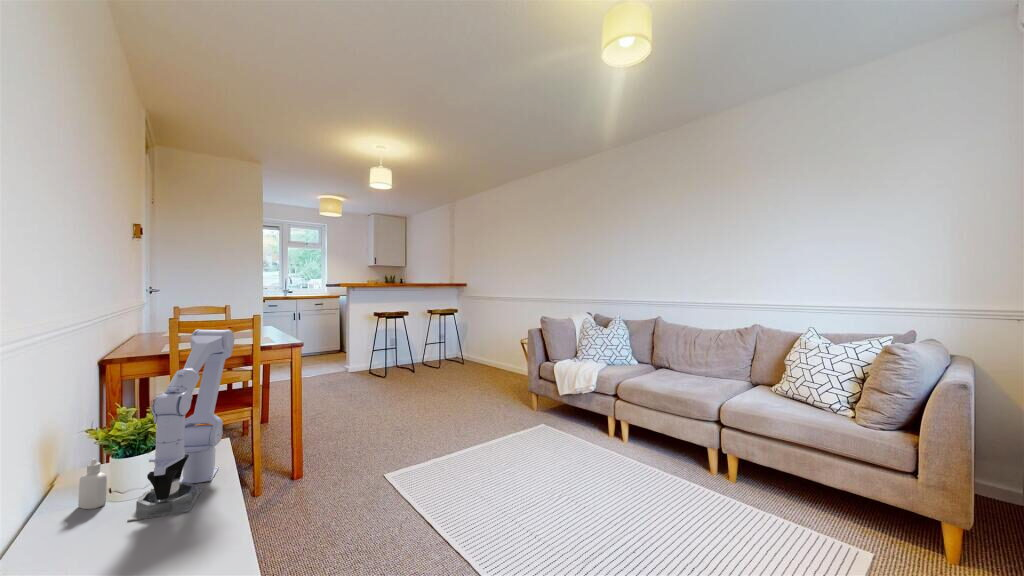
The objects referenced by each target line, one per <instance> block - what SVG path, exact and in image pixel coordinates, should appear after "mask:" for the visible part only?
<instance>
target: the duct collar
mask: <svg viewBox="0 0 1024 576" xmlns="http://www.w3.org/2000/svg"><path fill="white" fill-rule="evenodd" d="M202 491H203V488H199V489H198V485H196V484H195V483H192V484H190V483H187V482H184V483H179V497H178V498H176V499H173V500H170V501H164V502H157V503H155V495H150V493H151V489H150V490H148V491H145V492H143V493H142V495H141V496H140V497H139V498H138V499H137V501H135V502H136V506H135V510H134V512H133V513H132V514H131V515H130V516H129V517H128V519H127V520H126V521H127V522H128V523H129V522H134V521H140V520H146V519H147V520H148V519H153V518H159V517H165V516H172V515H178V514H179V515H180V514H185V513H189V512H191V510H192V508H193V506H194V504H195V503H196V501H197V499H198V498H199V496H200V495H201V493H202Z"/></svg>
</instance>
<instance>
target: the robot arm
mask: <svg viewBox="0 0 1024 576" xmlns="http://www.w3.org/2000/svg"><path fill="white" fill-rule="evenodd" d="M189 340H190V341H189V342H190V348H191V351H190V353H189V354H188V356H187V359H186V362H185V364H184V366H183V369H178V370H177V371H176V372H175V374H174V375H173V377H172V379H171V380H170V382H169V383H168V385H167V387H166V389H165V390H164V392H163V393H161V394H159V395H157V396H156V397H155V398H154V399H153V402H152V406H151V409H150V410H151V413H152V415H153V422H154V424H156V429H155V430H156V432H155V454H154V456H151V457H150V458H149V459H148V463H153V464H154V468H153V471H150V472H149V473H148V474H147V475H146V476H147V477H146V478H147V479H148V481H149V482H150V483H151V485H152V487H154V490H155V494H156V498H157V500H161V499H167V498H168V497H169V494H170V490H171V485H172V481H173V479H174V478H179V479H180V483H184V482H187V483H190V484H198V483H206V482H211V481H212V480H213V478H214V476H215V475H216V473H217V471H218V470H219V468H220V467H219V466H216V446H217V445H219V443H220V442H221V439H222V437H223V423H224V421H223V420H222V418H221V417H219V416H218V415H217V414H215V410H216V404H217V402H218V401H217V400H218V396H219V390H220V386H221V382H222V381H221V380H222V376H223V371H224V368H225V362H226V360H227V359H229V358H231V356H232V354H233V350H234V349H233V348H234V344H235V335H234V332H233V331H232V330H231V329H200V328H198V329H195V330H193V332H192V333H191V335H190V339H189ZM203 366H204V367H203ZM202 368H203V371H202V376H200V374H199V372H200V370H201V369H202ZM200 379H201V380H200ZM199 381H200V384H199V389H198V393H197V397H196V403H195V406H194V412H193V414H191V415H189V416H188V417H187V418H186V415H187V413H188V412H189V410H190V409H191V406H192V400H193V392H194V390H195V389H196V386H197V385H198V383H199ZM181 476H182V477H181Z"/></svg>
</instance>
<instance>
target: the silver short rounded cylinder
mask: <svg viewBox="0 0 1024 576" xmlns="http://www.w3.org/2000/svg"><path fill="white" fill-rule="evenodd" d="M180 480H181V478H180V479H179V478H174V479H173V481H172V485H171V490H170V494H169V497H168V498H167V499H161V500H157V498H156V494H155V490H154V487H153V486H152V487H151V488H150V490H151V493H150V495H155V503H157V502H164V501H170V500H173V499H176V498H178V497H179V483H180Z"/></svg>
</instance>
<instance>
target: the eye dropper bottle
mask: <svg viewBox="0 0 1024 576" xmlns="http://www.w3.org/2000/svg"><path fill="white" fill-rule="evenodd" d="M107 479H108V478H107V474H106V473H104V472H102V471H101V462H98V461H97V458H96V457H95V458H92V459H91V462H90V463H89V464H87V466H86V473H85V474H83V475H81V476H80V477H79V484H78V498H77V499H78V501H77V502H78V503H77V504H78V505H77V506H78V508H80V509H83V510H94V509H98V508H100V507H103V506H105V505H106V503H107V483H108V480H107Z"/></svg>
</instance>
